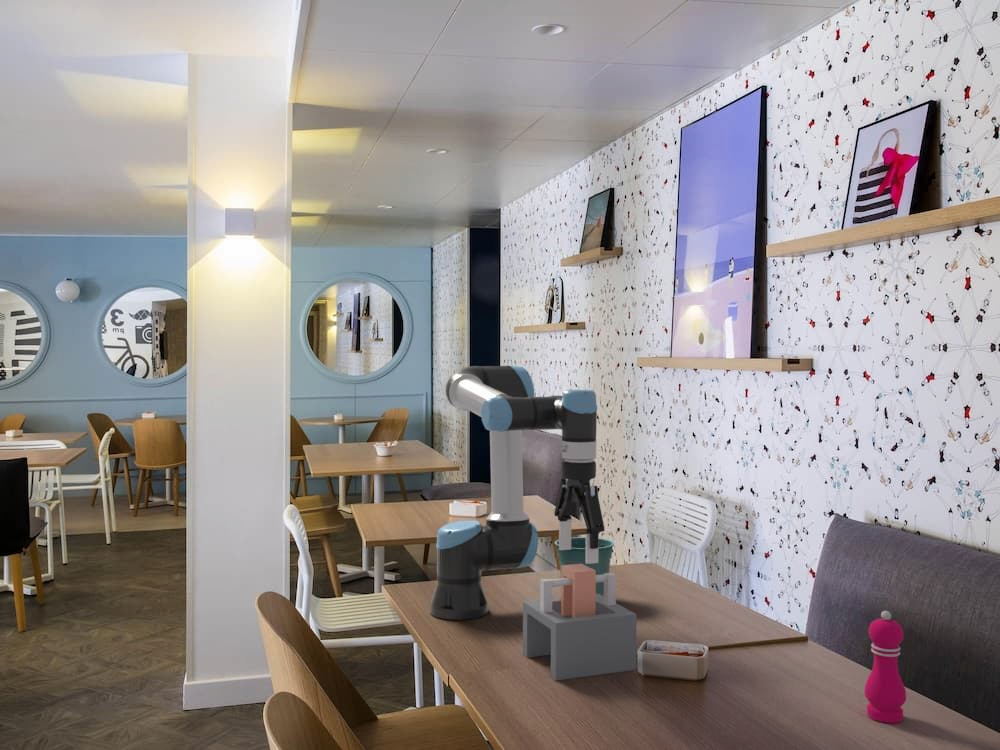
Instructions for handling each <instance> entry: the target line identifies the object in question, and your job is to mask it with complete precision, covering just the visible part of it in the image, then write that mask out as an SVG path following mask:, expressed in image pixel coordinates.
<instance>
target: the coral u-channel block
mask: <svg viewBox="0 0 1000 750" xmlns="http://www.w3.org/2000/svg"><path fill="white" fill-rule="evenodd" d="M561 578H569V579H571V580H573V584H572V585H566V586H560V588H561V589H560V593H561V594H560V598H561V615H563V616H567V615H572V618H574V617H583V616H592V615H596V570H594V569H592V568H590V567H588V566H585V565H583V564H571V565H561V575H560V579H561Z"/></svg>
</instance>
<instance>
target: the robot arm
mask: <svg viewBox="0 0 1000 750" xmlns="http://www.w3.org/2000/svg"><path fill="white" fill-rule="evenodd" d="M445 396H446V398H447V402H449V403H450V405H452V406H453V407H454V408H455V409H458V410H459V411H461V412H462V411H464V412H471V413H473V414H475V415H477V416H478V417H481V421H482V425H483V426H484V429H485V430H487V431H489V447H490V448H489V449H490V450H489V451H490V452H489V453H490V455H489V456H490V458H489V459H490V460H489V461H490V490H491V491H490V499H491V512H490V513H489V514H488V516H487V517H486V518H485V522H486V525H482V523H481V522H480V521H478V520H460V521H459V520H458V521H455V522H454V521H453V522H450V523H447V524H444V525H442V526H441V527H440V528H439V529H438V531H437V534H436V535H437V536H436V545H435V547H436V585H435V588H434V591H433V593H432V597H431V601H430V604H429V605H430V607H429V608H430V609H429V610H430V611H429V612H430V614H431V615H432V616H433V617H436V618H439V619H444V620H452V621H453V620H454V621H455V620H457V621H458V620H459V621H460V620H461V621H463V620H472V619H477V618H481V617H483V616H486V615H487V614H488V611H489V610H488V609H489V603H488V601H487V596H486V593H485V591H484V587H483V584H482V571H495V570H497V571H498V570H507V569H511V570H512V569H513V570H516V569H518V568H526V567H529V566H531V564H532V563H533V562H534V560H535V558H536V555H537V552H538V547H539V536H538V533H537V532H538V530H537V527H536V525H535V524H534V523H533V522H530V516H529V515H528V514H527V513H526V512H525V510H524V481H523V479H524V475H523V474H524V472H523V470H524V469H523V437H522V436H523V434H522V431H543V430H545V431H547V430H561V446H560V450H561V458H562V459H563V460H562V461H561V478H560V484H559V485H560V486H559V492H558V496H557V500H556V505H555V508H554V512H553V514H554V516H555V517H557V521H559V522H558V540H559V550H571V538H572V520H573V517H572V516H571V515H572V513H573V511H574V509H575V507H576V505H577V506H578V507H579V508H580V510H581V515H582V517H583V520H584V524H585V527H586V530H585V532H584V534H585V537H586V554H585V563H586V564H592V563H598V549H599V538H600V537H599V534H600V533H601V532H602V533H603V532H605V524H604V519H603V518H604V517H603V514H602V510H601V505H600V504H601V503H600V499H599V489H598V486H597V485H591V480H593V479H595V478H596V476H597V463H596V461H595V459H597V419H598V416H597V415H598V414H597V412H598V404H597V393H596V392H595V391H594V390H591V389H566V390H564V391H563V392H562V395H559V394H558V395H550V396H535V388H534V382H533V379H532V376H531V374H530V373H529V371H528V370H527V369H526V368H524V367H522V366H516V365H485V366H483V365H482V366H480V365H472V366H467V367H463V368H461V369H458V370H457V371H455V372H454V373H453V374H452V375H451V376H450V377H449V378H448V379H447V382H446V384H445Z"/></svg>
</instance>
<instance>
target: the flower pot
mask: <svg viewBox="0 0 1000 750" xmlns="http://www.w3.org/2000/svg"><path fill="white" fill-rule="evenodd" d="M554 546H556V551H557V552H556V554H557V558H558V562H559V572H560V573H559V575H560V576H561V565H571V564H583V565H585V566H588V567H590V568H592V569H594V570H596V575H603V574H604V573H610V566H611V559H612V556H613V555H612V553H613V547H614V546H615V542H614V541H613V540H610V539H608V538H607V539H606V538H601V537H599V549H598V563H592V564H586V563H585V554H586V536H582V537H581V536H580V537H579V536H578V537H577V536H575V537H571V550H559V539H558V540H556V541H554ZM596 594H600V595H602V596H604V582H597V583H596Z"/></svg>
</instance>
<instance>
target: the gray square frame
mask: <svg viewBox="0 0 1000 750" xmlns="http://www.w3.org/2000/svg"><path fill="white" fill-rule="evenodd" d="M597 582H604V596H602V595H600V594H596V615H592V616H583V617H574V618H572V615H567V616H563V615H561V597H553V588H554V587H561V586H566V585H572V584H573V580H571V579H569V578H561V577H560V578H553V579H552V578H551V579H550V578H541V579H539V599H534V600H533V599H532V600H523V601H522V655H523V656H524V657H526V658H534V657H535V658H536V657H542V656H550V677H551V679H552V680H555V682H557V681H562V680H569V679H571V680H572V679H579V678H584V677H593V676H599V675H600V676H601V675H608V674H615V673H622V672H629V671H635V670H637V623H638V622H637V616H638V615H637V613H635V612H633V611H631V610H629V609H627V608H625V607H624V606H622V605H620V604H618V603H617V574H615V573H614V572H609V573H604V574H603V575H596V583H597Z"/></svg>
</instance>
